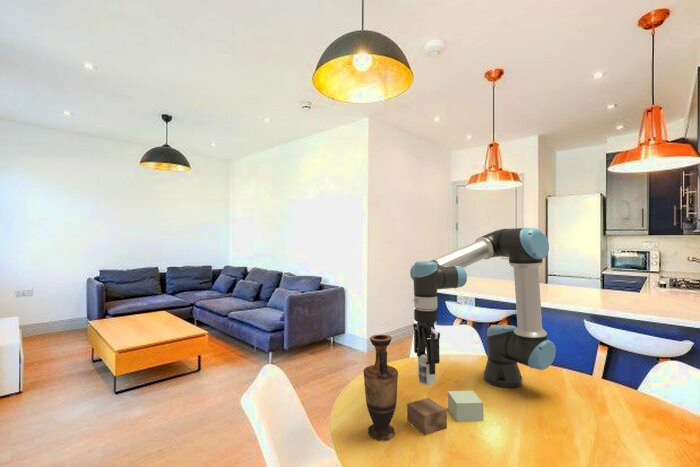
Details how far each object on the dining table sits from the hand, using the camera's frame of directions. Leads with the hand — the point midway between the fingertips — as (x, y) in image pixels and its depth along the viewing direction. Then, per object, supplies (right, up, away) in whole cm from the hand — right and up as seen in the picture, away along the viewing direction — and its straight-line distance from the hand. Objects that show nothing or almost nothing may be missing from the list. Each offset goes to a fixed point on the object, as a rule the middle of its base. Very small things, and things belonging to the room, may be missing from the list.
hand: (426, 379), depth 112 cm
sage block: (+15, -15, +6) cm, 22 cm away
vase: (-15, -15, -5) cm, 22 cm away
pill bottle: (0, -1, 0) cm, 1 cm away
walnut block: (0, -15, 0) cm, 15 cm away
